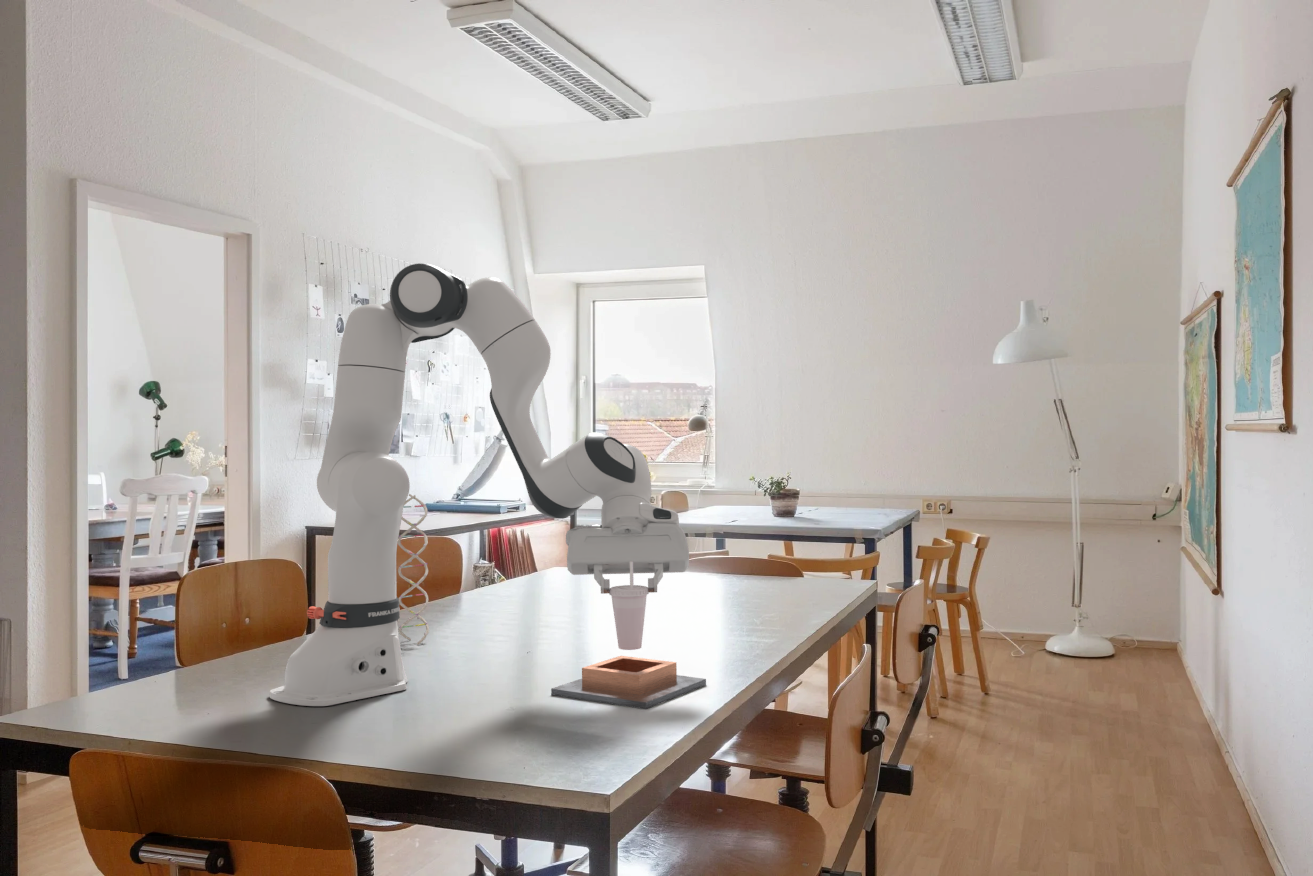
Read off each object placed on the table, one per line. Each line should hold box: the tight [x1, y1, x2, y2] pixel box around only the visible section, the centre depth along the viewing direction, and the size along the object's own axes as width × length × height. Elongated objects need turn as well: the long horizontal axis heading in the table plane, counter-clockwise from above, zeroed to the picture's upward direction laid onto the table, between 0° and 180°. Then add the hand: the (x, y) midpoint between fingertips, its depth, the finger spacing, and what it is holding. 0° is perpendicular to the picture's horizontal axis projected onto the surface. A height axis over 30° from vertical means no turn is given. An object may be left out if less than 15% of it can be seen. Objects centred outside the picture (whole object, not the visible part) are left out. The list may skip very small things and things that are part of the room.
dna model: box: [397, 493, 430, 646], centre depth 213 cm, size 7×6×30 cm
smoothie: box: [608, 561, 650, 651], centre depth 170 cm, size 6×6×14 cm
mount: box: [550, 655, 707, 710], centre depth 170 cm, size 18×18×4 cm
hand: (629, 591), depth 169 cm, fingers closed on smoothie, 6 cm apart
